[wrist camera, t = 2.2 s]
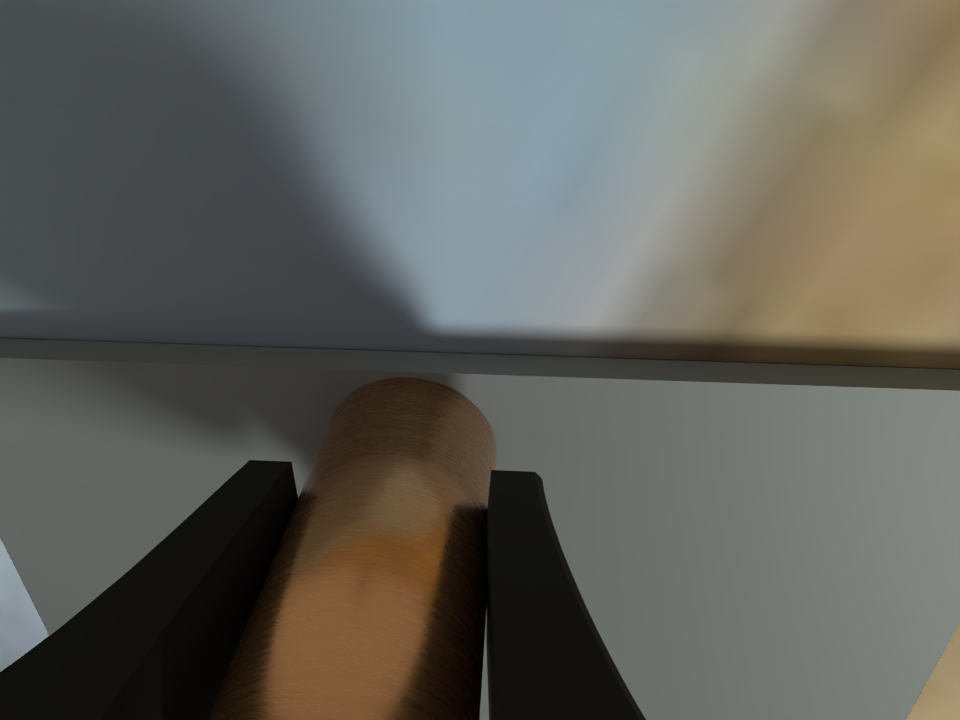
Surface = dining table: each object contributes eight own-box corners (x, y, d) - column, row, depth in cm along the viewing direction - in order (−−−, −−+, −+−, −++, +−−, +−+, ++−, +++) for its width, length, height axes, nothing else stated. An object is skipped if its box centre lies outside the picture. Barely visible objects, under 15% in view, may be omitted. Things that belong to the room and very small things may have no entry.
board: (778, 912, 21) (785, 937, 20) (186, 869, 21) (178, 892, 21) (1059, 373, 11) (1086, 394, 10) (-65, 336, 12) (-92, 354, 11)
